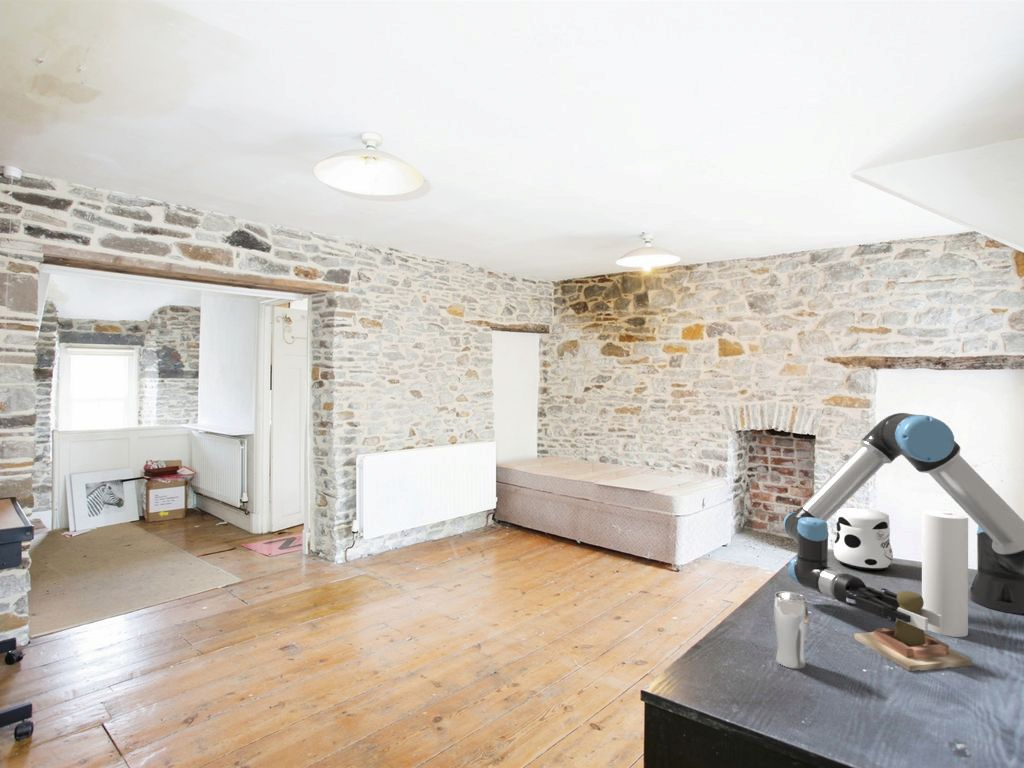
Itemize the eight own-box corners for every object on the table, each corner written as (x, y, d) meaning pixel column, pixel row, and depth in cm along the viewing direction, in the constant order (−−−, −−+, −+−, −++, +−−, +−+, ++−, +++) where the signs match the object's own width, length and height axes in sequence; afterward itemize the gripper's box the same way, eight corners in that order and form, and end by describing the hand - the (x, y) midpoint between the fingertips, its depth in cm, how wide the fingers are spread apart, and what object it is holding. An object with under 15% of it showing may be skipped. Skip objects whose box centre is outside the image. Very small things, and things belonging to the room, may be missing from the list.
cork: (922, 636, 135) (922, 590, 135) (928, 647, 129) (928, 599, 129) (892, 631, 137) (892, 586, 137) (896, 642, 132) (897, 595, 132)
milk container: (904, 574, 186) (905, 519, 185) (851, 574, 186) (851, 519, 186) (872, 557, 203) (872, 507, 203) (823, 557, 203) (823, 507, 203)
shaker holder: (910, 633, 142) (910, 620, 142) (971, 665, 127) (971, 651, 127) (854, 638, 140) (854, 625, 140) (909, 671, 124) (909, 657, 124)
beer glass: (794, 673, 124) (794, 604, 123) (766, 659, 130) (766, 594, 130) (814, 665, 127) (814, 598, 127) (786, 652, 133) (787, 588, 133)
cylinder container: (976, 638, 140) (977, 517, 139) (934, 635, 141) (934, 515, 141) (953, 621, 149) (954, 508, 149) (914, 619, 151) (914, 507, 150)
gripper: (866, 597, 153) (959, 634, 131) (818, 605, 147) (906, 645, 125) (866, 569, 153) (959, 601, 131) (818, 576, 147) (907, 611, 125)
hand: (933, 623), depth 128 cm, fingers closed on cork, 4 cm apart
